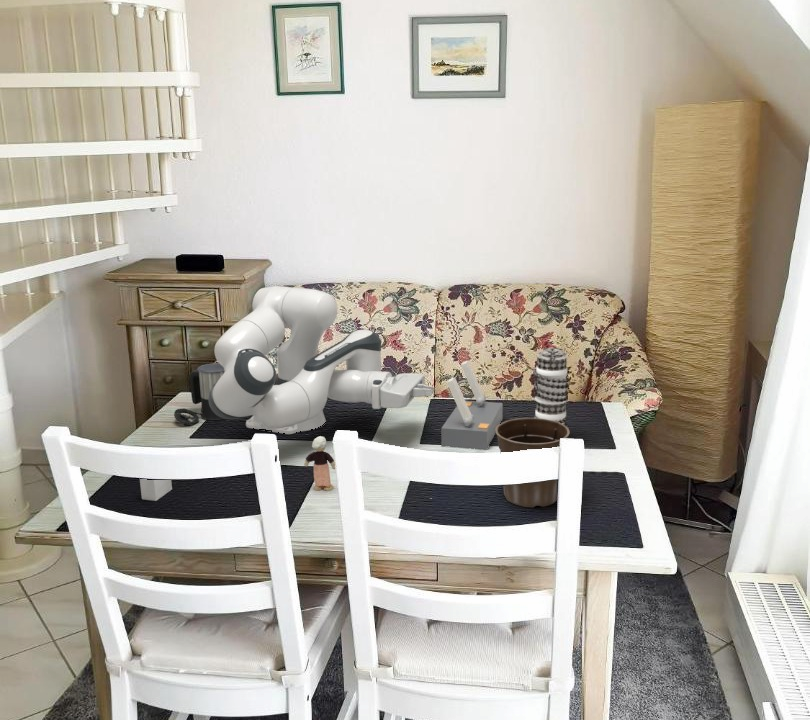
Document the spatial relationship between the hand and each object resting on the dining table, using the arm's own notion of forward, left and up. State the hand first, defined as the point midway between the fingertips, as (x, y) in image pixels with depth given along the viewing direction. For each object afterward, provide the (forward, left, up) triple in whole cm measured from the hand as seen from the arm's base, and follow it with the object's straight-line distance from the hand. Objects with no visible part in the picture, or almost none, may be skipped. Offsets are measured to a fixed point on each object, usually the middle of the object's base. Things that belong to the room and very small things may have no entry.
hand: (433, 391), depth 229 cm
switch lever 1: (+10, 0, -8) cm, 13 cm away
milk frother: (-69, +3, -14) cm, 71 cm away
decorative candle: (+30, +6, -14) cm, 34 cm away
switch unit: (+9, +9, -14) cm, 19 cm away
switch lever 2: (+10, +17, -8) cm, 22 cm away
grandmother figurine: (-18, -36, -14) cm, 42 cm away
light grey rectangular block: (-54, -48, -14) cm, 73 cm away
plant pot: (+30, -30, -14) cm, 45 cm away
